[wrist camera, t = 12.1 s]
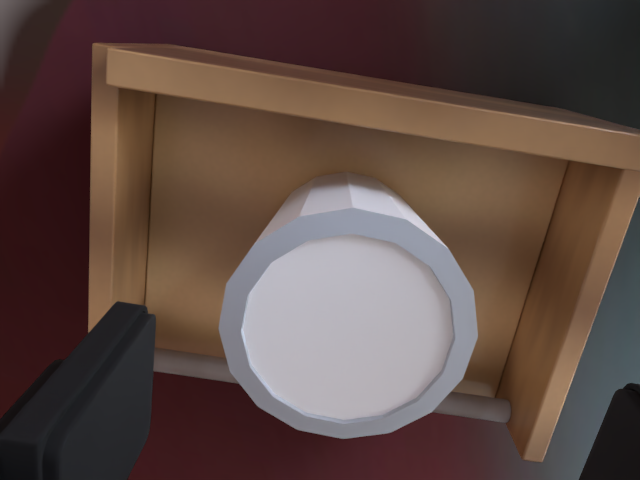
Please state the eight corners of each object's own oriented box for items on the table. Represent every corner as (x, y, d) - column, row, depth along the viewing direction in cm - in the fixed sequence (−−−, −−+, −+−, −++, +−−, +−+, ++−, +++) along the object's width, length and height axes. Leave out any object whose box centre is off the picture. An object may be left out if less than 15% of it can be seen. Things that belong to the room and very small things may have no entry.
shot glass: (466, 200, 20) (530, 274, 14) (385, 347, 22) (406, 474, 16) (295, 124, 19) (275, 164, 13) (228, 284, 22) (182, 389, 15)
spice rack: (488, 354, 27) (553, 485, 19) (152, 303, 26) (73, 415, 18) (561, 108, 23) (683, 141, 15) (167, 43, 22) (75, 41, 14)
